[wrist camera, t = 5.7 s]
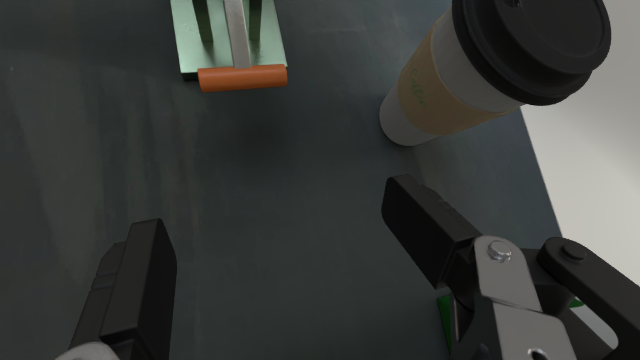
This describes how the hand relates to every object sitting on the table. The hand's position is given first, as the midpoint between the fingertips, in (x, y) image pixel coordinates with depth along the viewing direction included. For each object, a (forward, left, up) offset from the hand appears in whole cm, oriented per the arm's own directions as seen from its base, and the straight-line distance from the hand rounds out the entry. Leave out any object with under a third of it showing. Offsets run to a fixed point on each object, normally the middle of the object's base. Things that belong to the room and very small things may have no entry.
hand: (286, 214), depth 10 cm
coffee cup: (+16, +7, -14) cm, 23 cm away
